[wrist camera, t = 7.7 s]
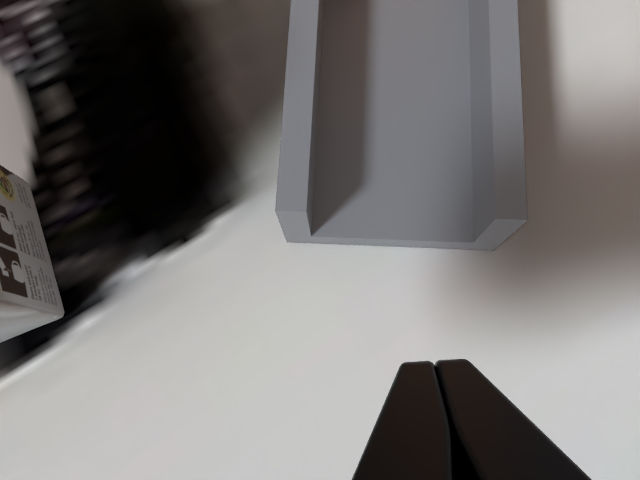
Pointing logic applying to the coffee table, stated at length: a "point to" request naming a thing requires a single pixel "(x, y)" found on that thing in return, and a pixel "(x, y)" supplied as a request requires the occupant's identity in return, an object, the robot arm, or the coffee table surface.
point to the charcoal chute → (402, 124)
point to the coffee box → (24, 263)
